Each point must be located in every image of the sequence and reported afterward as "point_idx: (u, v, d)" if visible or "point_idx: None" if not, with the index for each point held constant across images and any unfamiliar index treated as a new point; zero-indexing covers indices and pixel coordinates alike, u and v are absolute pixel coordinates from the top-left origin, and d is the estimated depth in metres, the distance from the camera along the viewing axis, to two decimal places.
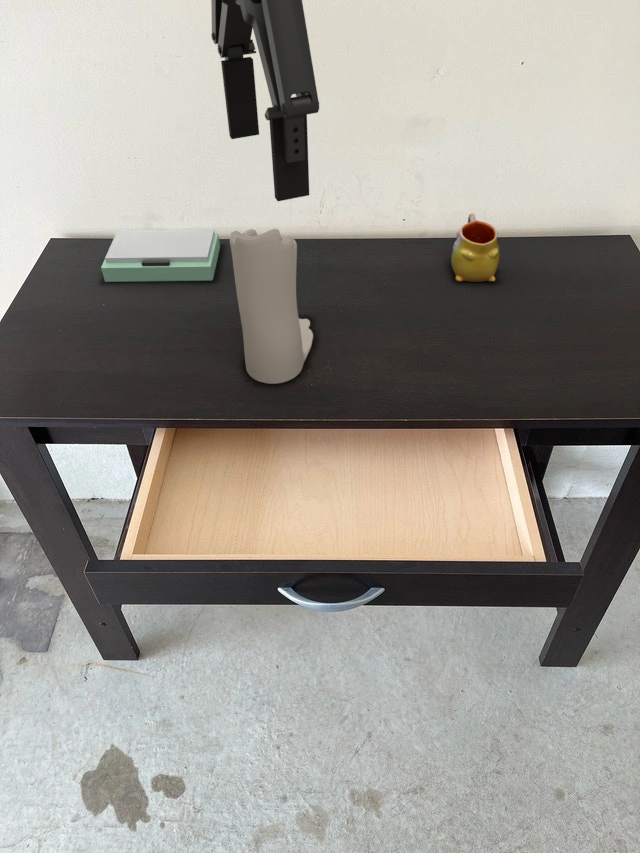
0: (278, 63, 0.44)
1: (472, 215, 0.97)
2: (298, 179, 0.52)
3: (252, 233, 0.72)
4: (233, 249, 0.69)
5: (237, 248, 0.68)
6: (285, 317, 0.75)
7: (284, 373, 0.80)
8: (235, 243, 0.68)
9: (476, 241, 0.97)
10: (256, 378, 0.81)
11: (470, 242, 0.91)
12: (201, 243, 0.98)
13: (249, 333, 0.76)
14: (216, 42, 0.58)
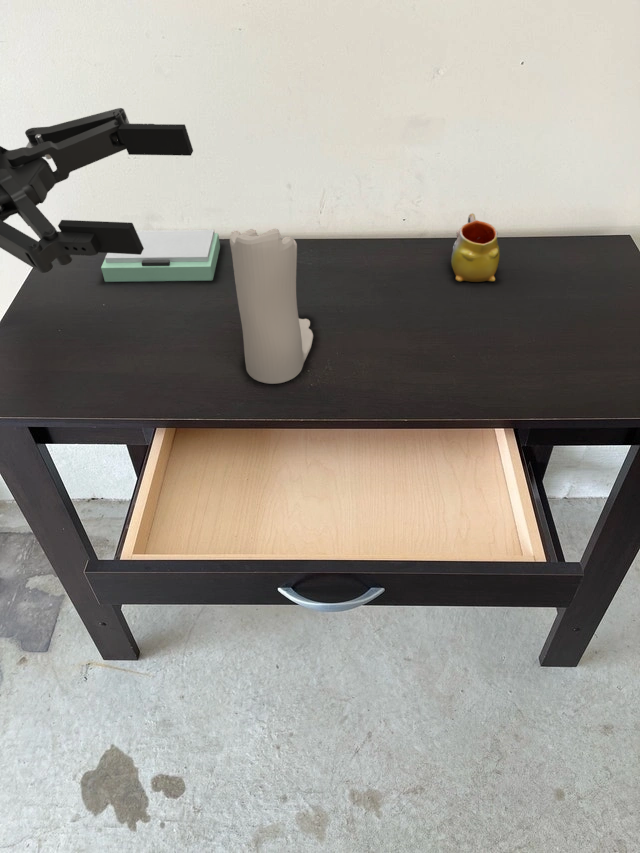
0: (90, 116, 0.64)
1: (472, 215, 0.97)
2: None
3: (252, 233, 0.72)
4: (233, 249, 0.69)
5: (237, 248, 0.68)
6: (285, 317, 0.75)
7: (284, 373, 0.80)
8: (235, 243, 0.68)
9: (476, 241, 0.97)
10: (256, 378, 0.81)
11: (470, 242, 0.91)
12: (201, 243, 0.98)
13: (249, 333, 0.76)
14: (39, 243, 0.54)
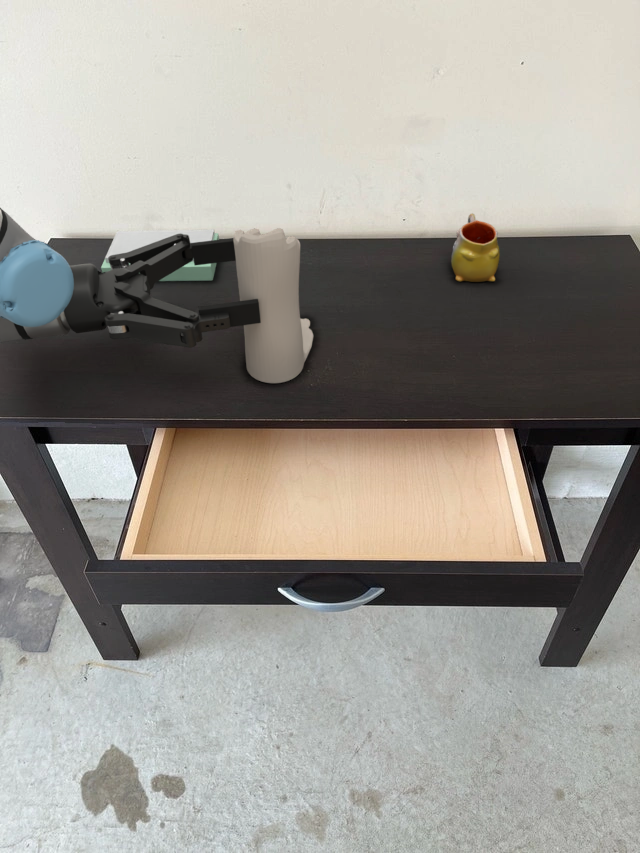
0: (157, 241, 0.81)
1: (472, 215, 0.97)
2: None
3: (255, 232, 0.72)
4: (237, 248, 0.69)
5: (241, 247, 0.68)
6: (287, 317, 0.75)
7: (285, 373, 0.80)
8: (239, 242, 0.68)
9: (476, 241, 0.97)
10: (257, 377, 0.81)
11: (470, 242, 0.91)
12: None
13: (251, 333, 0.76)
14: (190, 323, 0.69)
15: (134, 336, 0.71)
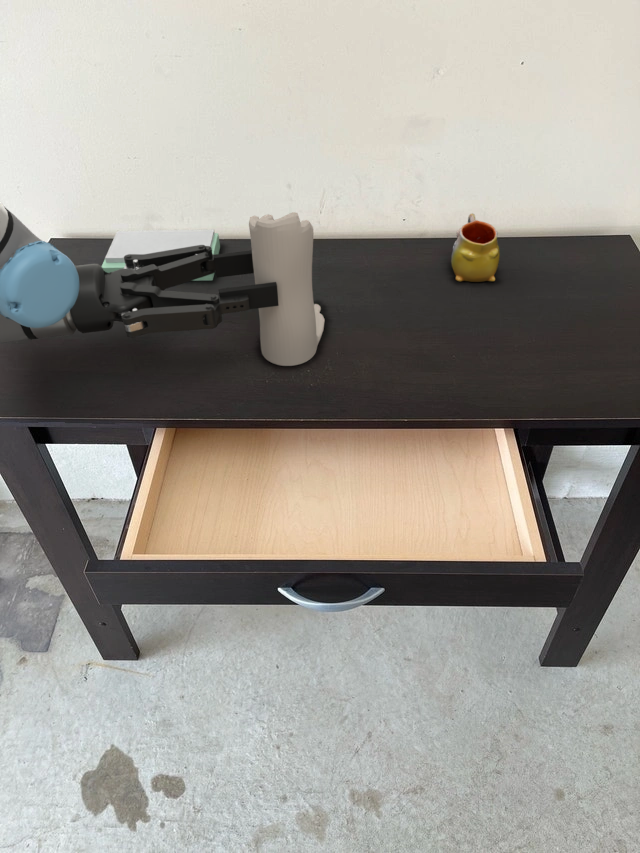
0: (178, 249, 0.80)
1: (472, 215, 0.97)
2: None
3: (269, 218, 0.74)
4: (253, 233, 0.71)
5: (257, 231, 0.70)
6: (302, 300, 0.77)
7: (300, 355, 0.82)
8: (255, 227, 0.70)
9: (476, 241, 0.97)
10: (272, 361, 0.83)
11: (470, 242, 0.91)
12: (201, 243, 0.98)
13: (267, 316, 0.78)
14: (210, 305, 0.71)
15: (153, 330, 0.72)
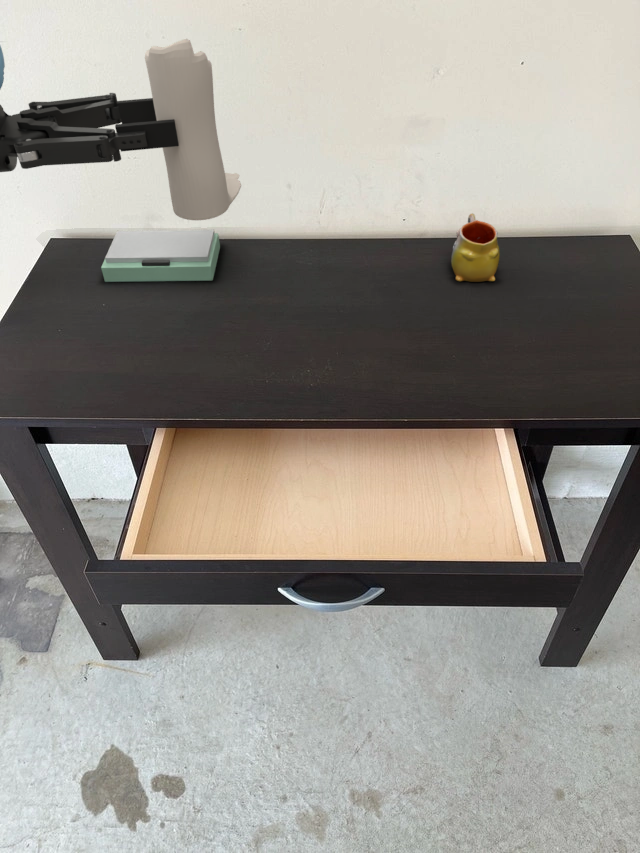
0: (84, 98, 0.80)
1: (472, 215, 0.97)
2: None
3: None
4: (148, 64, 0.71)
5: (151, 60, 0.70)
6: (205, 144, 0.77)
7: (208, 208, 0.82)
8: (149, 56, 0.70)
9: (476, 241, 0.97)
10: (182, 216, 0.83)
11: (470, 242, 0.91)
12: (201, 243, 0.98)
13: (171, 162, 0.78)
14: (104, 136, 0.71)
15: (48, 162, 0.72)
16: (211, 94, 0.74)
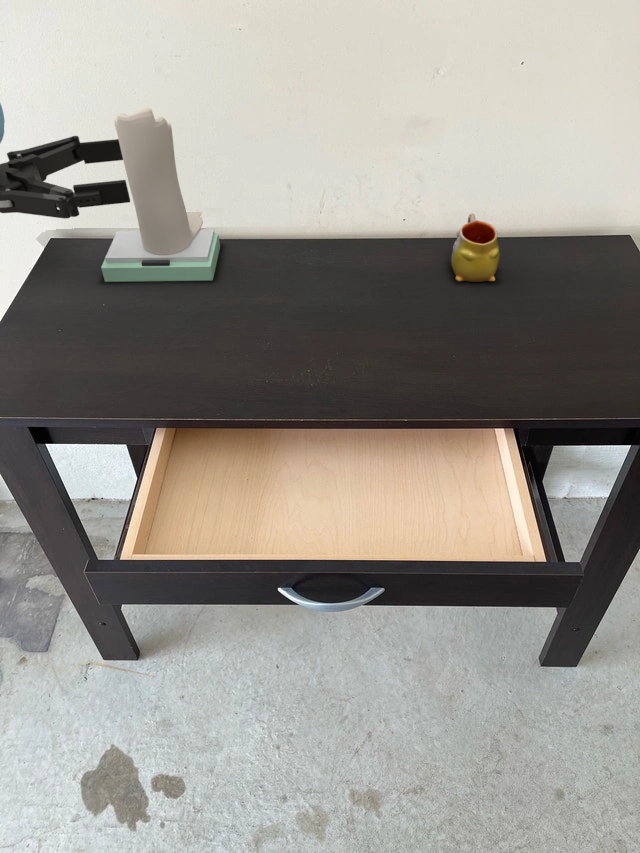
0: (52, 142, 0.94)
1: (472, 215, 0.97)
2: None
3: None
4: (116, 128, 0.85)
5: (119, 125, 0.84)
6: (167, 191, 0.90)
7: (172, 244, 0.95)
8: (117, 122, 0.84)
9: (476, 241, 0.97)
10: (150, 250, 0.96)
11: (470, 242, 0.91)
12: (201, 243, 0.98)
13: (139, 207, 0.91)
14: (64, 196, 0.82)
15: (19, 211, 0.84)
16: (171, 151, 0.88)
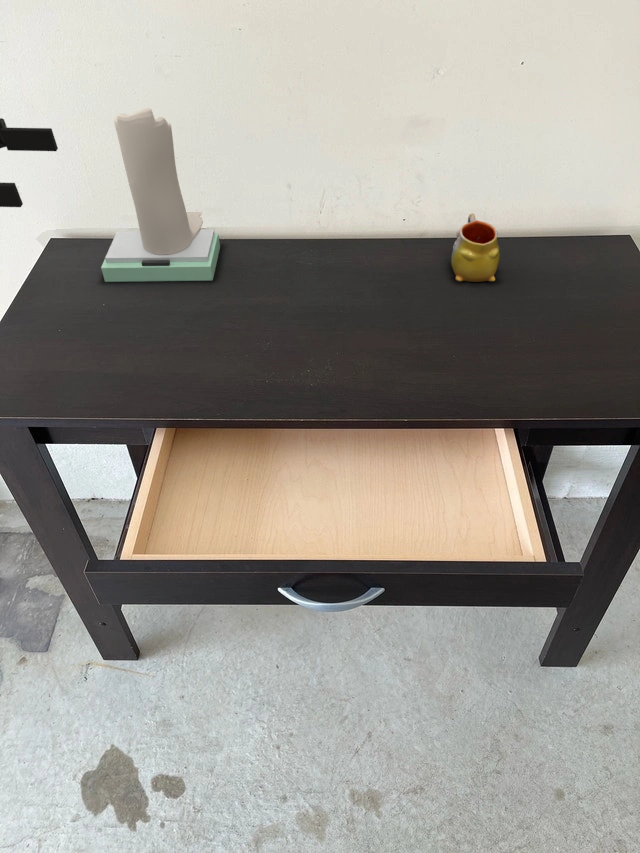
0: None
1: (472, 215, 0.97)
2: None
3: None
4: (116, 128, 0.85)
5: (119, 125, 0.84)
6: (167, 191, 0.90)
7: (172, 244, 0.95)
8: (117, 122, 0.84)
9: (476, 241, 0.97)
10: (150, 250, 0.96)
11: (470, 242, 0.91)
12: (201, 243, 0.98)
13: (139, 207, 0.91)
14: None
15: None
16: (171, 151, 0.88)
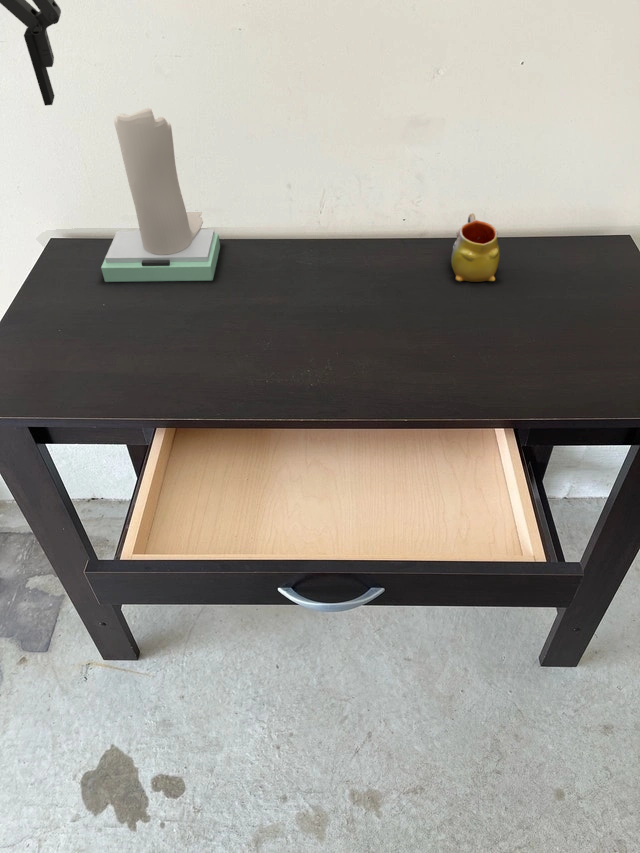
0: None
1: (472, 215, 0.97)
2: (49, 84, 0.69)
3: None
4: (116, 128, 0.85)
5: (119, 125, 0.84)
6: (167, 191, 0.90)
7: (172, 244, 0.95)
8: (117, 122, 0.84)
9: (476, 241, 0.97)
10: (150, 250, 0.96)
11: (470, 242, 0.91)
12: (201, 243, 0.98)
13: (139, 207, 0.91)
14: None
15: None
16: (171, 151, 0.88)
